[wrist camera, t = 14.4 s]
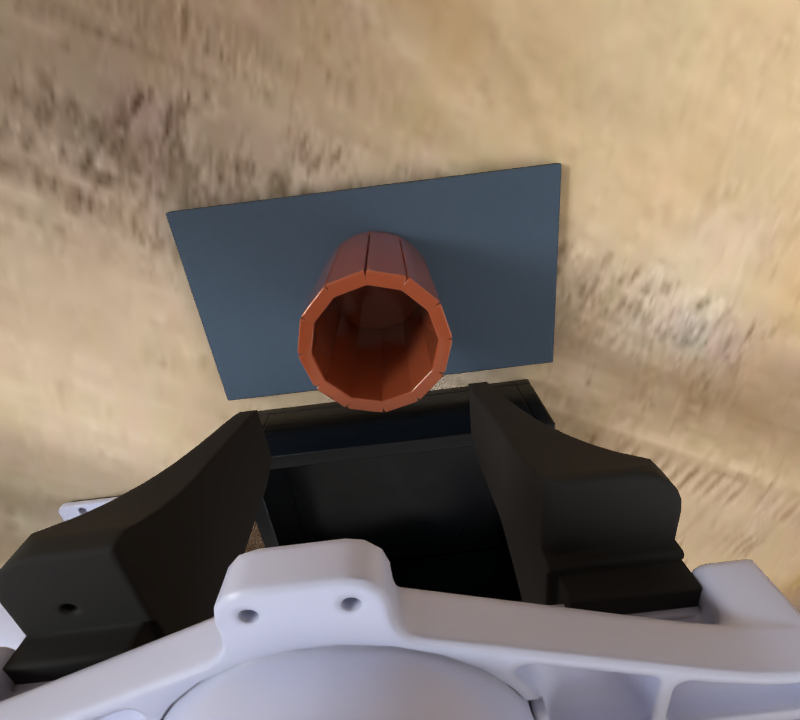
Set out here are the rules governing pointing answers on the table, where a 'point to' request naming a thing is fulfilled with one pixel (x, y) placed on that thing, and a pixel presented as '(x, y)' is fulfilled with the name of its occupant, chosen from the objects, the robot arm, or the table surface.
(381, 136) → the table surface
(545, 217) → the mat
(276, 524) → the tub
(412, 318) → the tumbler
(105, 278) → the table surface
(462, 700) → the robot arm
